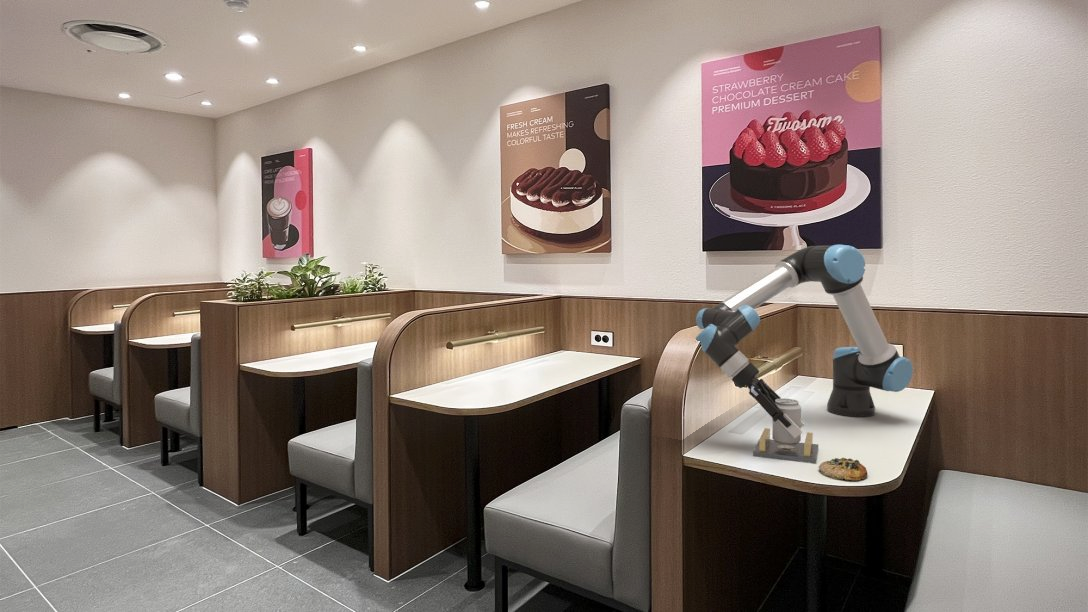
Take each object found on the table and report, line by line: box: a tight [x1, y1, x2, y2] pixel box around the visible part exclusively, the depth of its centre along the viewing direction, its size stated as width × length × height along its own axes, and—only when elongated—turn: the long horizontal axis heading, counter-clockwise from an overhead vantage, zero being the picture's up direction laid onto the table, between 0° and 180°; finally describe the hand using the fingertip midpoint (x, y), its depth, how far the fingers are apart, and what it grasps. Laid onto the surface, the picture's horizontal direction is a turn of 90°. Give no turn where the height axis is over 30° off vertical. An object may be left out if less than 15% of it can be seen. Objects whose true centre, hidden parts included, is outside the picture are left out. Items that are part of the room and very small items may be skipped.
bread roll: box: [818, 457, 868, 482], centre depth 156 cm, size 11×11×5 cm
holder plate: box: [752, 427, 819, 464], centre depth 174 cm, size 16×14×5 cm
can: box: [771, 398, 802, 445], centre depth 174 cm, size 8×8×12 cm
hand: (799, 430), depth 172 cm, fingers closed on can, 7 cm apart
